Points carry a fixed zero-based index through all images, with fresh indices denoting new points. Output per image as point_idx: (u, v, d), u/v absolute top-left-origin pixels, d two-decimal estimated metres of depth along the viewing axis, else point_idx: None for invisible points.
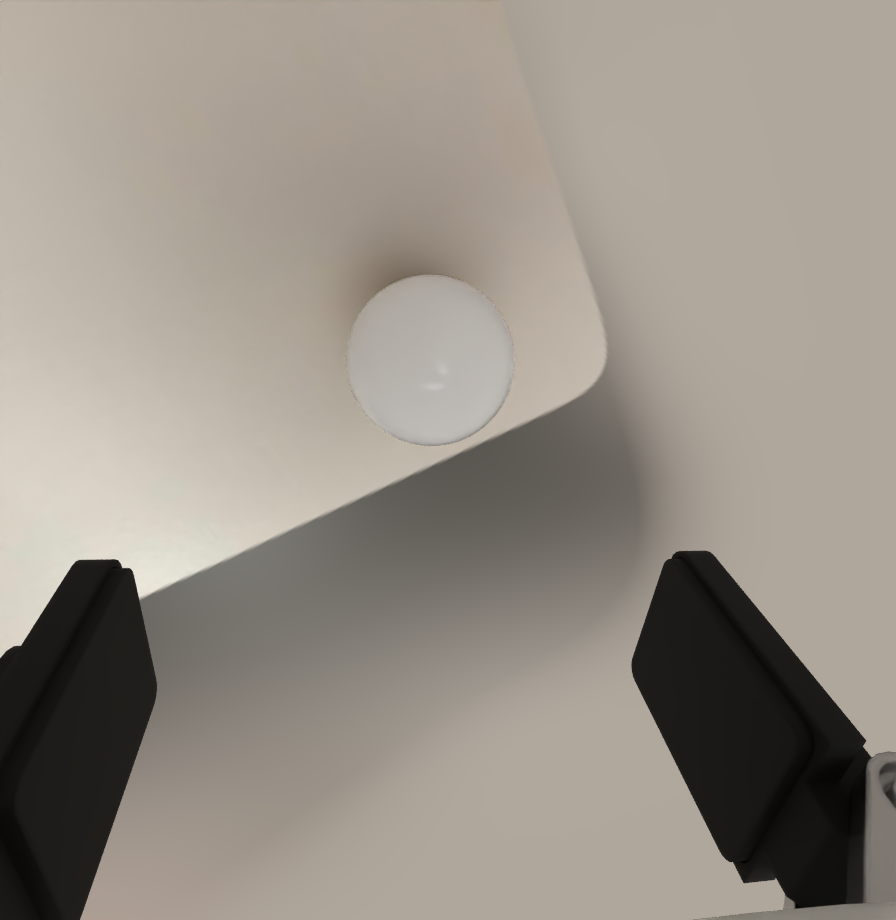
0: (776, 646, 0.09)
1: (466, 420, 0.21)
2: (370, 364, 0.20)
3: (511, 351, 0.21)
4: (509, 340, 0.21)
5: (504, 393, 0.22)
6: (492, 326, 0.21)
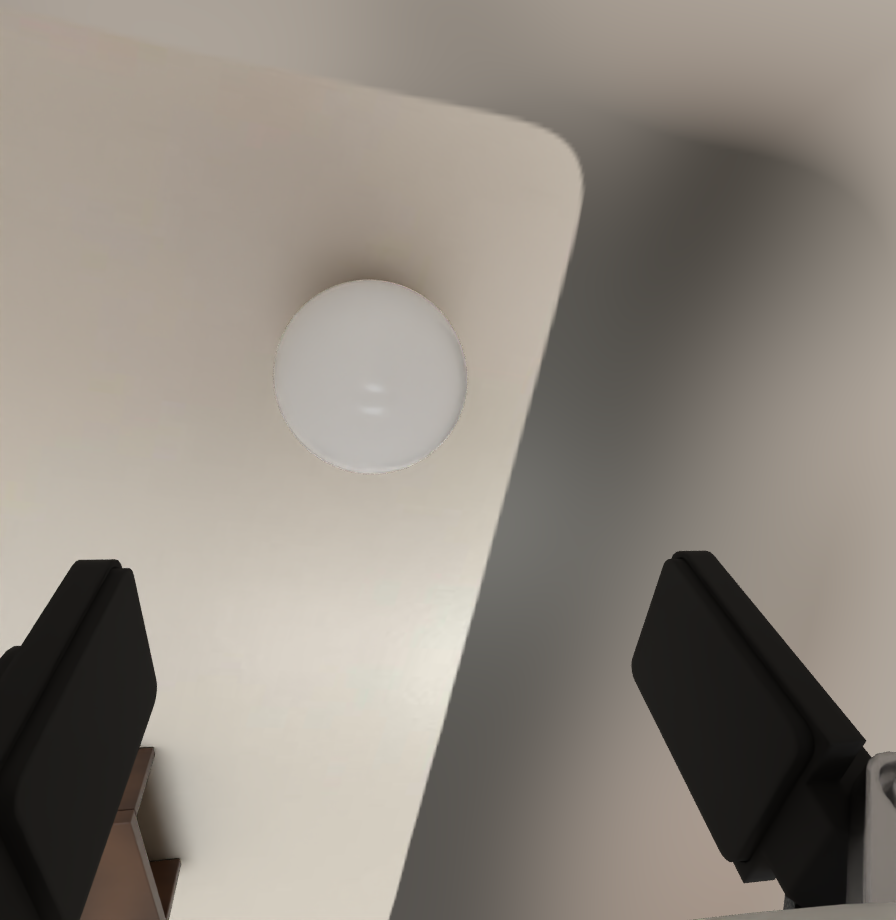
0: (776, 646, 0.09)
1: (427, 408, 0.18)
2: (315, 450, 0.19)
3: (401, 307, 0.18)
4: (389, 301, 0.18)
5: (436, 346, 0.18)
6: (356, 314, 0.17)
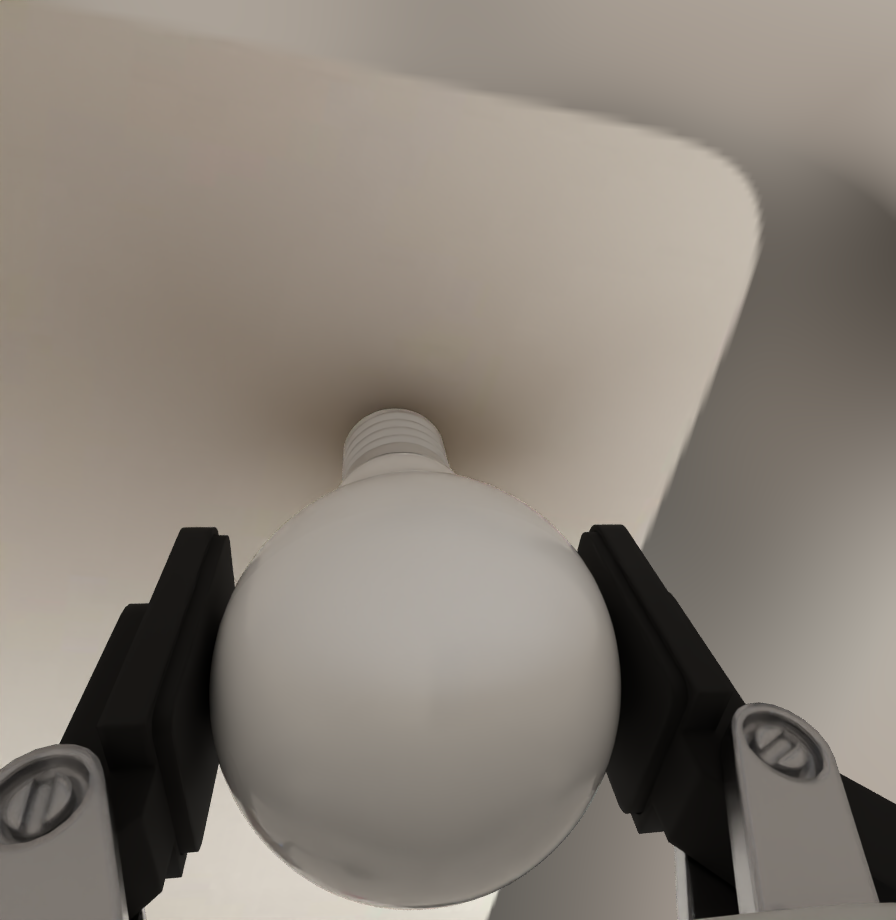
0: (668, 609, 0.09)
1: (560, 820, 0.07)
2: None
3: (501, 586, 0.07)
4: (472, 572, 0.07)
5: (581, 673, 0.07)
6: (396, 621, 0.07)
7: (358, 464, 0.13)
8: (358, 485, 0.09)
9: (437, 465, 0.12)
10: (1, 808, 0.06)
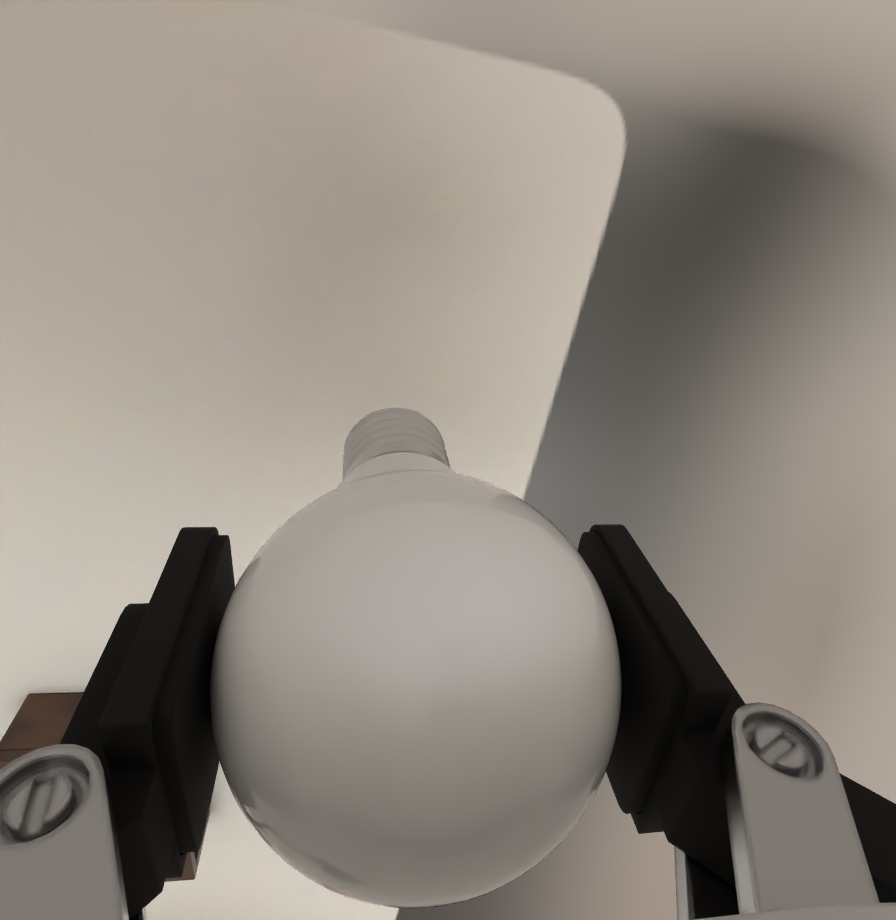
0: (668, 609, 0.09)
1: (561, 818, 0.07)
2: None
3: (501, 585, 0.07)
4: (473, 570, 0.07)
5: (581, 672, 0.08)
6: (396, 620, 0.07)
7: (359, 463, 0.13)
8: (359, 484, 0.09)
9: (437, 464, 0.12)
10: (1, 808, 0.06)
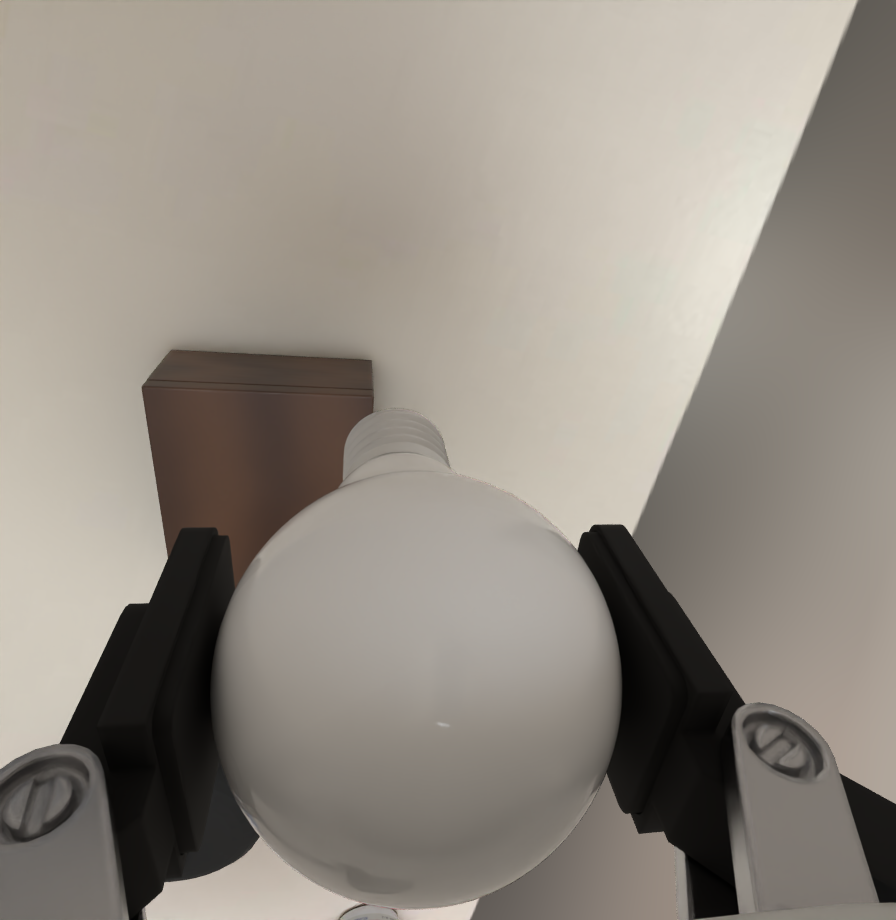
0: (668, 609, 0.09)
1: (562, 819, 0.07)
2: None
3: (502, 586, 0.07)
4: (473, 572, 0.07)
5: (582, 673, 0.07)
6: (398, 621, 0.07)
7: (359, 463, 0.13)
8: (359, 485, 0.09)
9: (438, 465, 0.12)
10: (1, 808, 0.06)
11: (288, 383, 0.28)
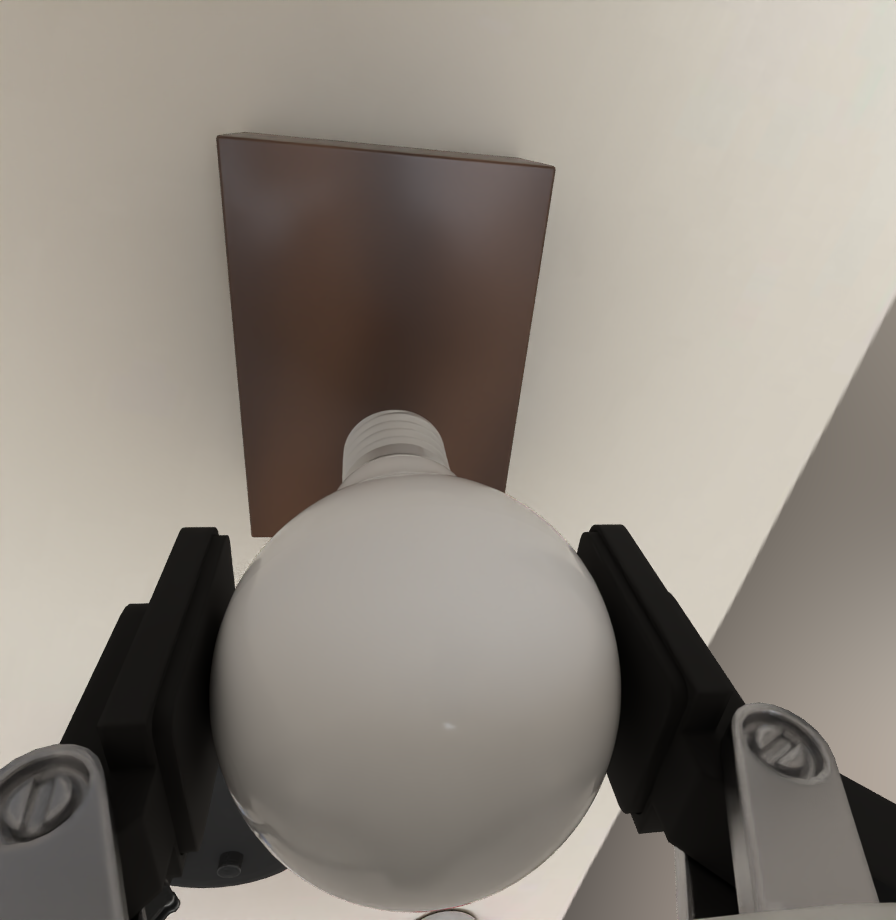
0: (668, 609, 0.09)
1: (560, 822, 0.07)
2: None
3: (501, 589, 0.07)
4: (472, 575, 0.07)
5: (581, 676, 0.07)
6: (396, 624, 0.07)
7: (358, 465, 0.13)
8: (358, 487, 0.09)
9: (437, 467, 0.12)
10: (1, 808, 0.06)
11: (427, 153, 0.19)
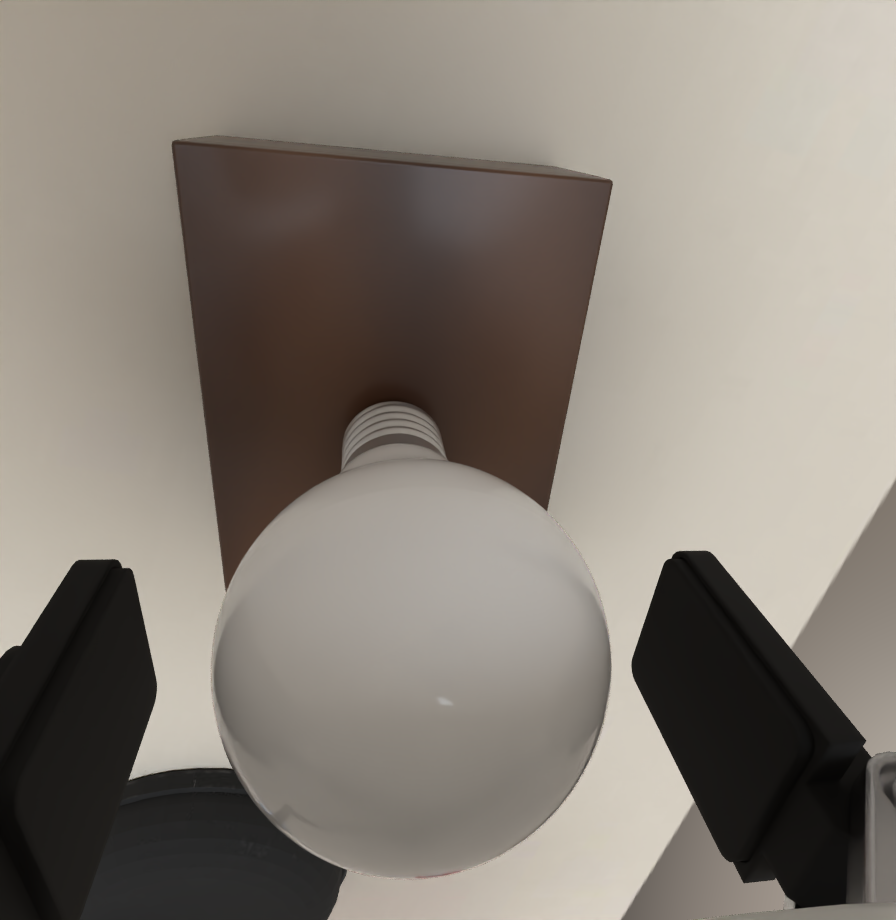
0: (777, 646, 0.09)
1: (550, 792, 0.08)
2: None
3: (493, 565, 0.08)
4: (465, 551, 0.08)
5: (570, 650, 0.08)
6: (391, 598, 0.07)
7: (357, 454, 0.14)
8: (356, 471, 0.09)
9: (434, 455, 0.13)
10: None
11: (447, 162, 0.14)
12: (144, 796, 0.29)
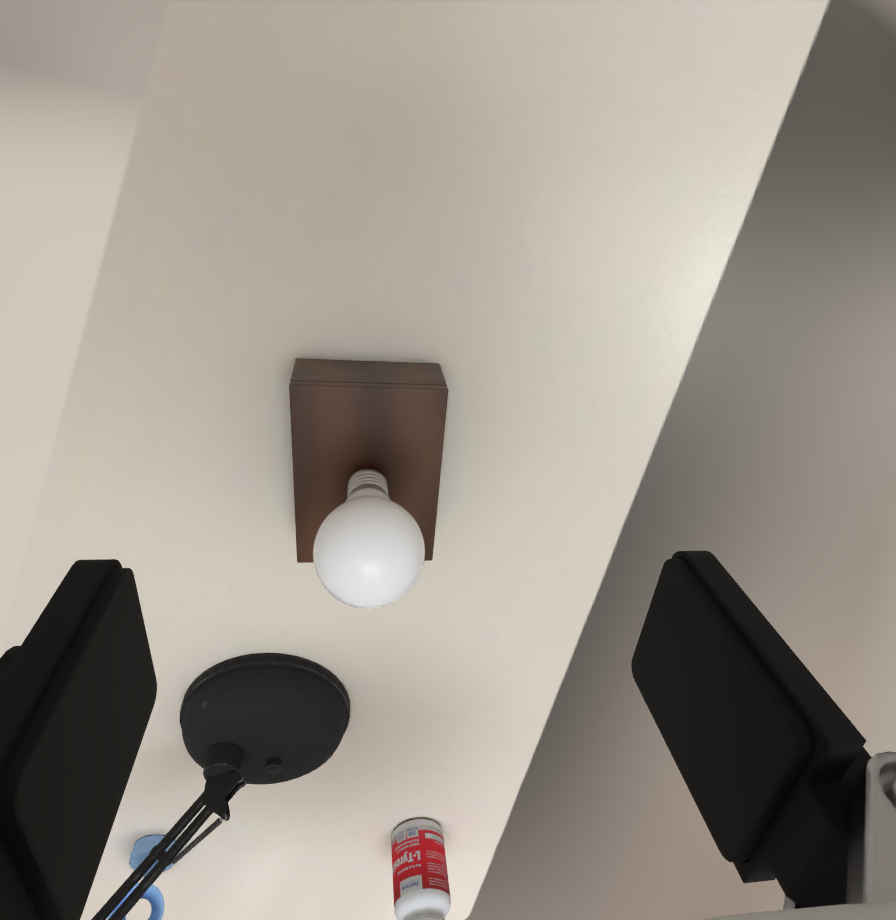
0: (776, 646, 0.09)
1: (399, 579, 0.32)
2: (336, 598, 0.33)
3: (384, 525, 0.32)
4: (378, 521, 0.32)
5: (404, 545, 0.32)
6: (360, 531, 0.32)
7: (353, 491, 0.38)
8: (352, 500, 0.34)
9: (379, 492, 0.37)
10: None
11: (387, 381, 0.39)
12: (239, 666, 0.53)
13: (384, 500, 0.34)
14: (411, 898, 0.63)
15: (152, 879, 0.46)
